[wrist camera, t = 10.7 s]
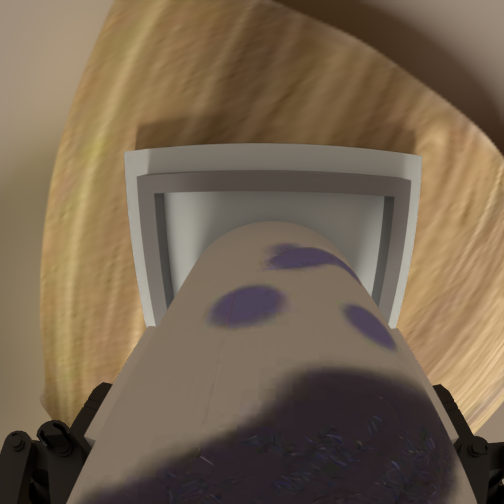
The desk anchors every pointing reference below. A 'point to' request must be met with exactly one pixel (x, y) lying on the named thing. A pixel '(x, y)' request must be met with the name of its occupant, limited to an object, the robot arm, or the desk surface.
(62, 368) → the desk surface
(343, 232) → the base board
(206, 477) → the container
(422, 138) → the desk surface
